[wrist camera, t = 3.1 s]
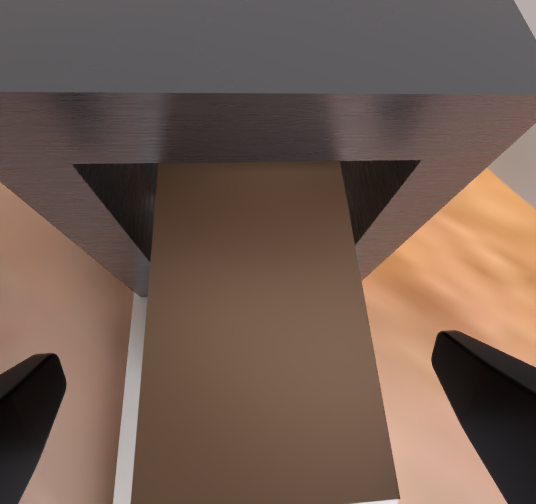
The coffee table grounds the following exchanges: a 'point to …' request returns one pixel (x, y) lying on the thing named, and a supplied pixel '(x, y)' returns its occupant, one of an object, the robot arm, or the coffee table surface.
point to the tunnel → (255, 106)
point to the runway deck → (132, 403)
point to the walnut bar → (258, 343)
